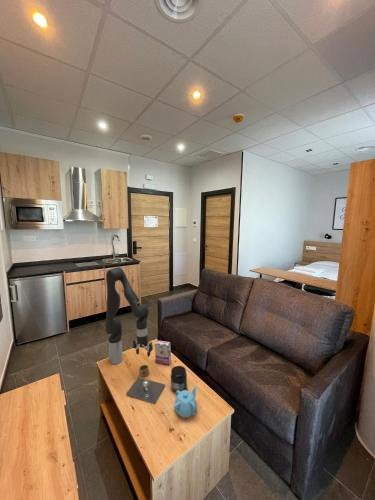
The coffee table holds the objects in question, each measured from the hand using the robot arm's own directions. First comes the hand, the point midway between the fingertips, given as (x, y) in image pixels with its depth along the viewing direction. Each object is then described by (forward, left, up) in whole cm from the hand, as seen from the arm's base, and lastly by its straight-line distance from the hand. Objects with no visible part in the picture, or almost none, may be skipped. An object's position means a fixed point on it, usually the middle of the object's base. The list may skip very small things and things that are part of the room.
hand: (143, 355), depth 147 cm
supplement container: (+28, -4, -15) cm, 32 cm away
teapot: (+38, -18, -15) cm, 45 cm away
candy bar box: (+8, +15, -15) cm, 22 cm away
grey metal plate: (+9, -13, -14) cm, 21 cm away
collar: (0, 0, -14) cm, 14 cm away
